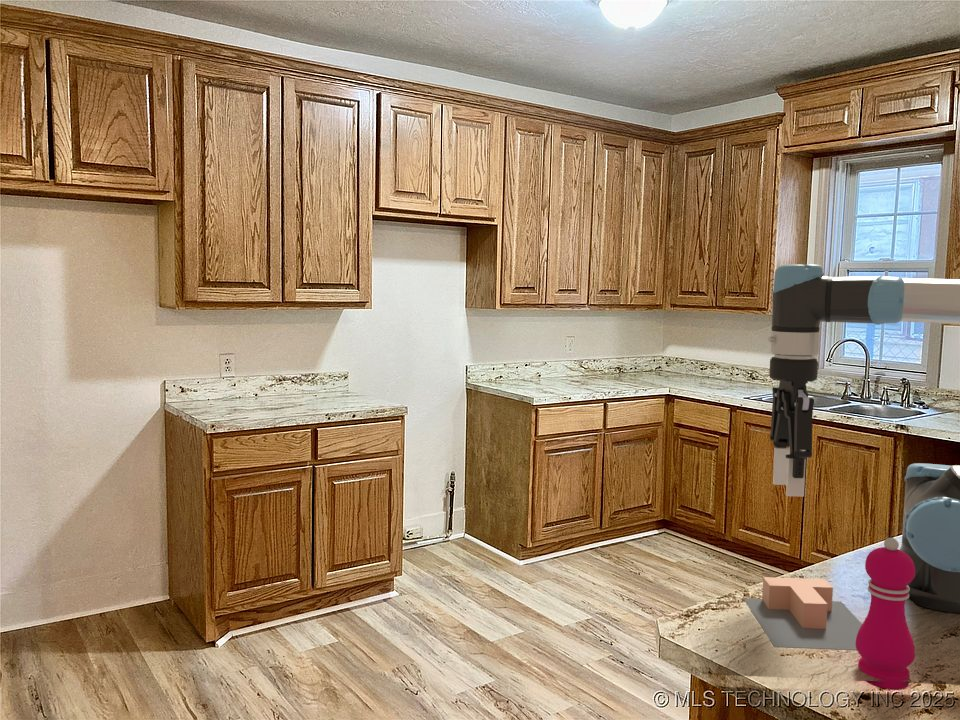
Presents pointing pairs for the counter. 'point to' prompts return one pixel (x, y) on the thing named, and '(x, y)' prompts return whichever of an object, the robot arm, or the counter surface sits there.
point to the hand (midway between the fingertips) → (787, 489)
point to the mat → (793, 635)
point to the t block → (800, 599)
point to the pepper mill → (887, 618)
